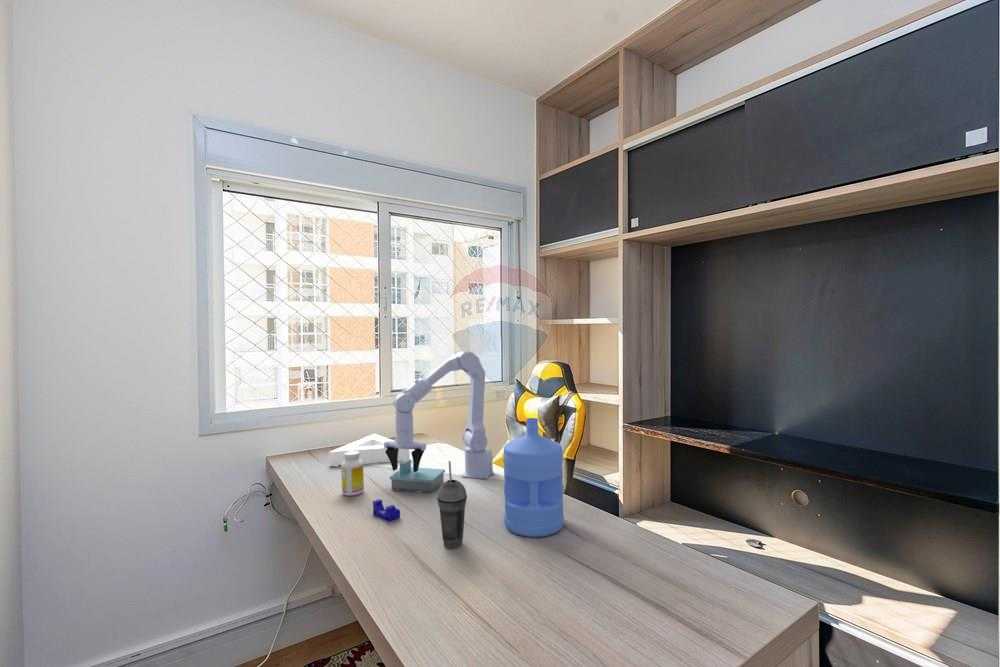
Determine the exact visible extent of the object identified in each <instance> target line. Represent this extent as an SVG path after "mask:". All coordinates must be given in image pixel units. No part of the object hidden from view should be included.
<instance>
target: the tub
mask: <svg viewBox="0 0 1000 667" xmlns="http://www.w3.org/2000/svg"><path fill="white" fill-rule="evenodd" d="M390 480H391V490H392V489H399V490H398V491H401V490H409V491H408V492H412V491H419V492H418V493H424V492H431V493H430V494H432V493H434V492H435V491H436V490H437V489H438V488H439V487H440V486H441V485H442V484H443V482H445V481H444V480H445V478H444V473H443V474H442V475H441V476H439V477H438V478H437V479H436V480H435V481H433V482H432V483H429V482H417V481H404V480H392V479H390ZM441 483H442V484H441ZM440 484H441V485H440ZM439 485H440V486H439ZM438 486H439V487H438ZM437 487H438V488H437ZM436 488H437V489H436ZM435 489H436V490H435ZM434 490H435V491H434ZM420 491H421V492H420Z"/></svg>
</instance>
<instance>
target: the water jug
mask: <svg viewBox="0 0 1000 667" xmlns="http://www.w3.org/2000/svg"><path fill="white" fill-rule="evenodd" d="M525 421H526V425H525V427H526V433H525V434H524V435H522V436H519V437H518V438H516V439H513V440H511V441H509V442H508V443H506V444H505V445H504V446H503V455H502V460H503V461H502V462H503V471H504V472H503V482H504V484H503V494H504V515H503V517H504V518H503V520H504V525H505V527H506V528H507V529H508V530H509V531H510V532H512V533H513V534H515V535H517V536H522V537H530V538H542V537H547V536H548V537H549V536H551V535H555V534H556V533H558V532H559V531H560V530H561V529H562V528H563V527H564V523H565V517H564V516H565V515H564V484H563V463H564V462H563V460H564V457H563V455H564V454H563V447H562V445H561V444H560V443H558V442H556V441H555V440H552V439H549V438H547V437H545V436H543V435H541V434H540V433H539V423H538V422H539V418H536V417H529V418H526V419H525Z"/></svg>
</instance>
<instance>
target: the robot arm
mask: <svg viewBox="0 0 1000 667" xmlns="http://www.w3.org/2000/svg"><path fill="white" fill-rule="evenodd" d="M461 370H462V371H464V373H465V374H466V375H467V376H469V377H470V378H469V379H470V380H469V394H468V396H469V399H468V415H467V416H468V418H467V423H466V425H465V430H464V432H463V434H462V440H463V441H462V442H463V443H464V445H465V446H464V472H463V473H462V474H461V478H472V479H486V480H487V479H488V478H489V477H490V476H491V475H492V474H493V473H494V469H493V452H492V450H489V449H486V447H487V446H488V445H487V444H488V438H487V436H486V428H485V425H484V409H485V408H484V407H485V406H484V405H485V389H486V388H485V387H486V386H485V385H486V384H485V383H486V371H485V369H484V367H483V365H482V364H481V360H480V358H479V357H478V355H476V354H475V353H474V352H472V351H465V350H462V349H461V350H457V351H455V352H454V354H451V355H450V356H449V357H447V358H446V359H444V361H443V362H441V363H440V364H439V365H438V367H436V368H435V369H434V370H433V371H432V372H431V373H430V374H428V376H426V377H420V378H418V379H417V378H416V379H414V380H413V384H411V385H410V386H408V387H407V388H406V389H405V388H404V389H403V390H402V393H399V394H397V395H395V398H394V400H393V406H394V408H396V409H395V418H394V419H395V420H394V421H395V440H394V441H386V442H384V448H387V450H386V451H385V453H386V454H387V456H388V458H389V460H390V462H389V463H390V464H391V467H392V468H391V469H392V471H396V470H398V466H399V464H398V463H399V462H398V450H399V449H409V450H413V451H411V452H410V453H411V454H410V455H411V457H412V467H413V471H414V472H417V471H418V468H420V463H421V459H422V456H423V454H424V453H425V451H426V450H427V443H424V442H418V441H414V416H413V410H414V409H415V408H414V407H415V406H416V404H418V403H419V402H420V401H421V400H422V399H424V398H425V397H426V396H427V395H428V394H429V393H430V392H432V386H433V385H434V384H436V383H437V382H438V381H439V380H441V379H442V378H444V377H445V376H446V375H447V374H449V373H451V372H453V371H461Z"/></svg>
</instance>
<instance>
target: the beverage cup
mask: <svg viewBox="0 0 1000 667" xmlns="http://www.w3.org/2000/svg"><path fill="white" fill-rule="evenodd" d="M451 464H452V462H451V460H449V461H448V476H449V477H448V478H449V479H447V480H446V481H444V483H442V484H441V485H440V486H439V487H438V491H437V497H436V499H437V504H438V507H439V516H440V524H441V534H442V542H443V547H444V546H445V547H447V548H446V549H448V548H456V549H459V548H461V547H462V546H463V540H464V530H465V511H466V510H465V509H466V503H467V498H468V494H467V491H466V488H465V486H464V484H463V483H461V481H459V480H456V479H452V466H451ZM460 546H461V547H460ZM445 547H444V548H445ZM458 547H459V548H458Z"/></svg>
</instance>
